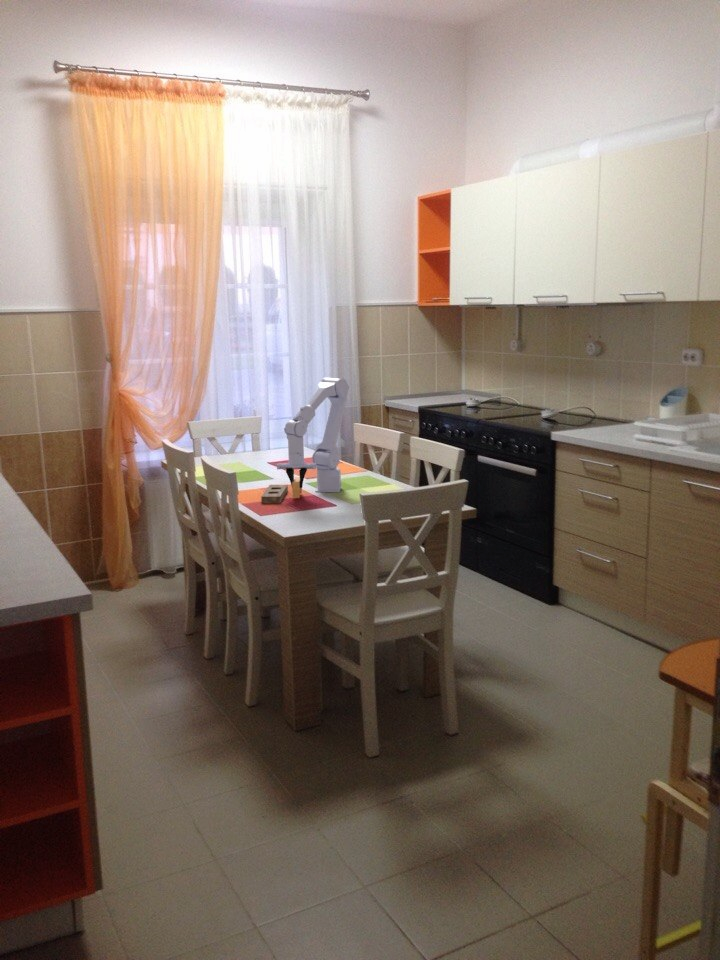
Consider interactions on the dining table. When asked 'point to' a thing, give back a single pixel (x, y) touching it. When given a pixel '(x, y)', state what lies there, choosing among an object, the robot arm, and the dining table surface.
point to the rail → (274, 494)
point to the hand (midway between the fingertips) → (297, 487)
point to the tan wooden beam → (296, 487)
